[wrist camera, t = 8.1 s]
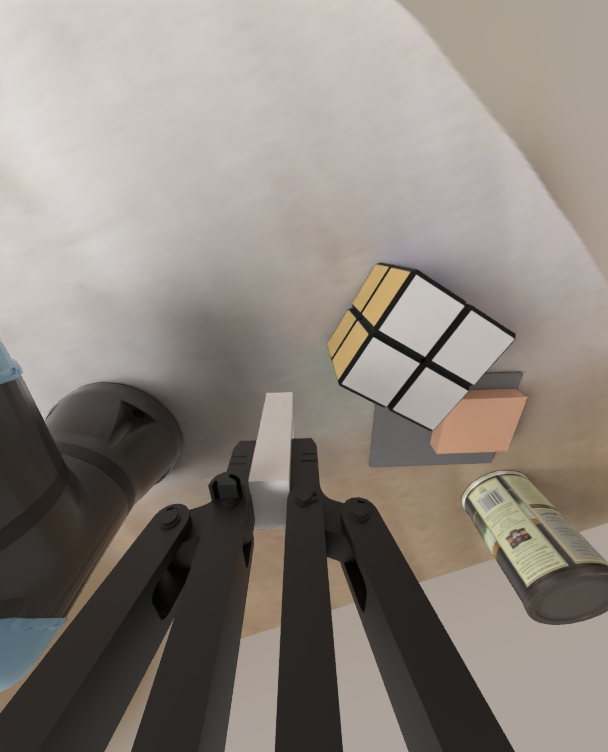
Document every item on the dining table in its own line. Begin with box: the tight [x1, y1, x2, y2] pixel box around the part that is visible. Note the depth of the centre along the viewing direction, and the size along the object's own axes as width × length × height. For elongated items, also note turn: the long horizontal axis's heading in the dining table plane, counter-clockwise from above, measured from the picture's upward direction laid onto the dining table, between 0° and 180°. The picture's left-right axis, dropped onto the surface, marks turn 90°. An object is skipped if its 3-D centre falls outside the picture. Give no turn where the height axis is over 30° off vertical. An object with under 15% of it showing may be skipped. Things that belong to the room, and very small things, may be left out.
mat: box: [369, 372, 523, 467], centre depth 36 cm, size 17×14×1 cm
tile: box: [430, 389, 528, 454], centre depth 35 cm, size 2×8×9 cm
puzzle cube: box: [327, 263, 515, 431], centre depth 26 cm, size 10×10×10 cm
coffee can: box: [462, 470, 608, 625], centre depth 37 cm, size 10×10×14 cm
